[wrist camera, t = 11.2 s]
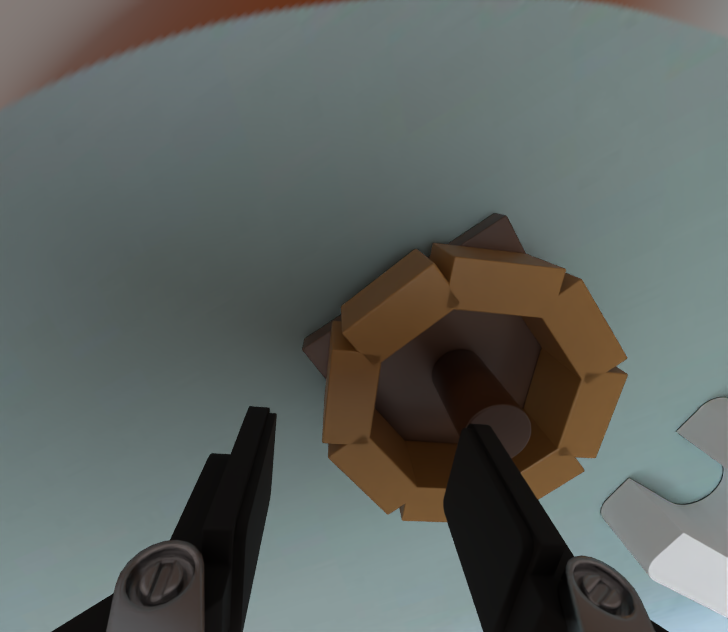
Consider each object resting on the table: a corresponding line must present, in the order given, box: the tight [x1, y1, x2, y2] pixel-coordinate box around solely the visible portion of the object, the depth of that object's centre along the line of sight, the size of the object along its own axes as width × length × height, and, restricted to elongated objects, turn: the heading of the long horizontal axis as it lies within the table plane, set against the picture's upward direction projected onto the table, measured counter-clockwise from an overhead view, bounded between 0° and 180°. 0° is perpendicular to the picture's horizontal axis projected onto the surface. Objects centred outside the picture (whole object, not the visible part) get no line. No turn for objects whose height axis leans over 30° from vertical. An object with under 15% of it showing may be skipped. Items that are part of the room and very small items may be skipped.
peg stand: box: [302, 213, 542, 458], centre depth 16 cm, size 10×10×6 cm
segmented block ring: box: [322, 243, 628, 522], centre depth 16 cm, size 11×11×3 cm
